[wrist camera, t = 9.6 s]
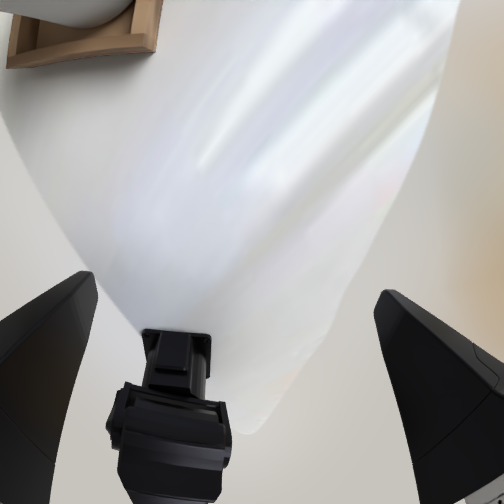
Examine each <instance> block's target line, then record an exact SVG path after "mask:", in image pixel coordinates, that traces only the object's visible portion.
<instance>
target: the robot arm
mask: <svg viewBox="0 0 504 504" xmlns="http://www.w3.org/2000/svg"><path fill="white" fill-rule="evenodd" d="M97 301H98V292H97V288H96V283H95V278H94V274H93V273H92V272H90V271H79V272H77V273H76V274H74V275H72V276H70V277H69V278H67V279H65V280H64V281H62V282H60V283H59V284H57V285H56V286H54V287H52V288H51V289H49V290H48V291H46V292H44V293H43V294H41V295H40V296H38V297H36V298H35V299H33V300H32V301H30V302H28V303H27V304H25V305H24V306H22V307H21V308H20V309H18V310H16V311H15V312H13V313H12V314H10V315H9V316H7V317H6V318H4V319H3V320H1V321H0V504H49V501H50V494H51V486H52V480H53V474H54V468H55V464H54V463H55V462H56V457H57V452H58V447H59V442H60V438H61V433H62V429H63V425H64V421H65V417H66V413H67V409H68V405H69V401H70V397H71V394H72V391H73V387H74V384H75V380H76V377H77V374H78V371H79V367H80V364H81V361H82V358H83V355H84V352H85V349H86V346H87V343H88V339H89V334H90V330H91V325H92V321H93V317H94V313H95V309H96V305H97ZM374 319H375V323H376V328H377V332H378V337H379V341H380V346H381V350H382V354H383V358H384V361H385V364H386V367H387V371H388V374H389V377H390V380H391V384H392V387H393V391H394V394H395V397H396V401H397V405H398V408H399V412H400V415H401V419H402V423H403V427H404V431H405V435H406V439H407V443H408V447H409V451H410V456H411V460H412V463H413V464H412V465H413V470H414V475H415V479H416V484H417V490H418V495H419V501H420V504H454V503H456V502H458V501H460V500H461V499H463V498H464V499H465V502H466V504H504V363H502V362H501V361H499V360H497V359H496V358H495V357H493V356H491V355H490V354H489V353H487V352H486V351H484V350H483V349H481V348H480V347H479V346H477V345H476V344H474V343H472V342H471V341H470V340H469V339H467V338H466V337H464V336H463V335H461V334H460V333H459V332H457V331H456V330H454V329H453V328H451V327H450V326H448V325H447V324H446V323H444V322H443V321H441V320H440V319H438V318H437V317H435V316H434V315H432V314H431V313H429V312H428V311H426V310H425V309H423V308H422V307H420V306H419V305H417V304H416V303H414V302H413V301H411V300H409V299H408V298H407V297H405V296H404V295H402V294H401V293H399V292H397V291H396V290H390V289H386V290H383V291H382V292H381V294H380V297H379V299H378V301H377V304H376V306H375V309H374ZM147 334H148V335H147ZM142 339H143V344H144V350H145V356H146V361H147V363H146V368H145V373H144V378H143V382H142V387H141V386H137V385H133V384H131V383H129V382H125V384H124V388H121V390H118V391H117V394H116V398H115V402H114V405H113V408H112V410H111V413H110V415H109V417H108V420H107V422H106V430H107V431H108V433H109V434H110V440H112V449H115V450H118V451H119V458H118V467H117V472H118V475H119V477H120V479H121V482H122V484H123V486H124V488H125V490H126V491H127V493H128V495H129V497H130V499H131V501H132V502H133V504H208V503H214V502H215V501H216V500H217V498H218V497H219V495H220V493H221V490H222V471H223V468H226V467H227V465H228V463H229V460H230V456H231V450H232V436H231V429H230V424H229V419H228V414H227V409H226V403H225V402H222V401H219V402H216V401H209V400H205V384H206V379H208V378H209V377H210V361H211V340H212V338H211V336H210V335H208V334H197V333H184V332H172V331H161V330H151V329H145V330H143V332H142ZM205 339H208V340H205Z"/></svg>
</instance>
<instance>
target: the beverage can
mask: <svg viewBox="0 0 504 504" xmlns="http://www.w3.org/2000/svg"><path fill="white" fill-rule="evenodd" d="M132 1H133V0H0V11H1V12H7V13H13V14H18V15H23V16H27V17H32V18H36V19H40V20H45V21H49V22H52V23H56V24H60V25H63V26H67V27H70V28H75V29H88V28H93V27H96V26H99V25H102V24H104V23H106V22H108V21H110V20H112V19H113V18H115V17H116V16H118V15H119V14H120V13H121V12H122V11H124V10H125V9H126V8H127V7H128V6H129V5H130V3H131V2H132Z"/></svg>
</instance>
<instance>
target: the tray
mask: <svg viewBox="0 0 504 504" xmlns="http://www.w3.org/2000/svg"><path fill="white" fill-rule="evenodd" d="M162 5H163V0H133V1H132V2H131V3H130V5H129V6H128V7H127V8H126V9H125V10H124V11H122V12H121V13H120V14H119V15H118V16H116V17H115V18H113V19H112V20H110V21H108V22H106V23H104V24H102V25H99V26H96V27H93V28H88V29H75V28H70V27H67V26H63V25H60V24H56V23H52V22H49V21H45V20H40V19H36V18H32V17H27V16H23V15H18V14H14V16H13V21H12V26H11V32H10V39H9V46H8V55H7V65H6V69H12V68H32V67H36V66H41V65H45V64H50V63H55V62H61V61H67V60H73V59H79V58H86V57H94V56H103V55H113V54H125V53H142V52H156V44H157V36H158V29H159V23H160V16H161V10H162Z"/></svg>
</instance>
